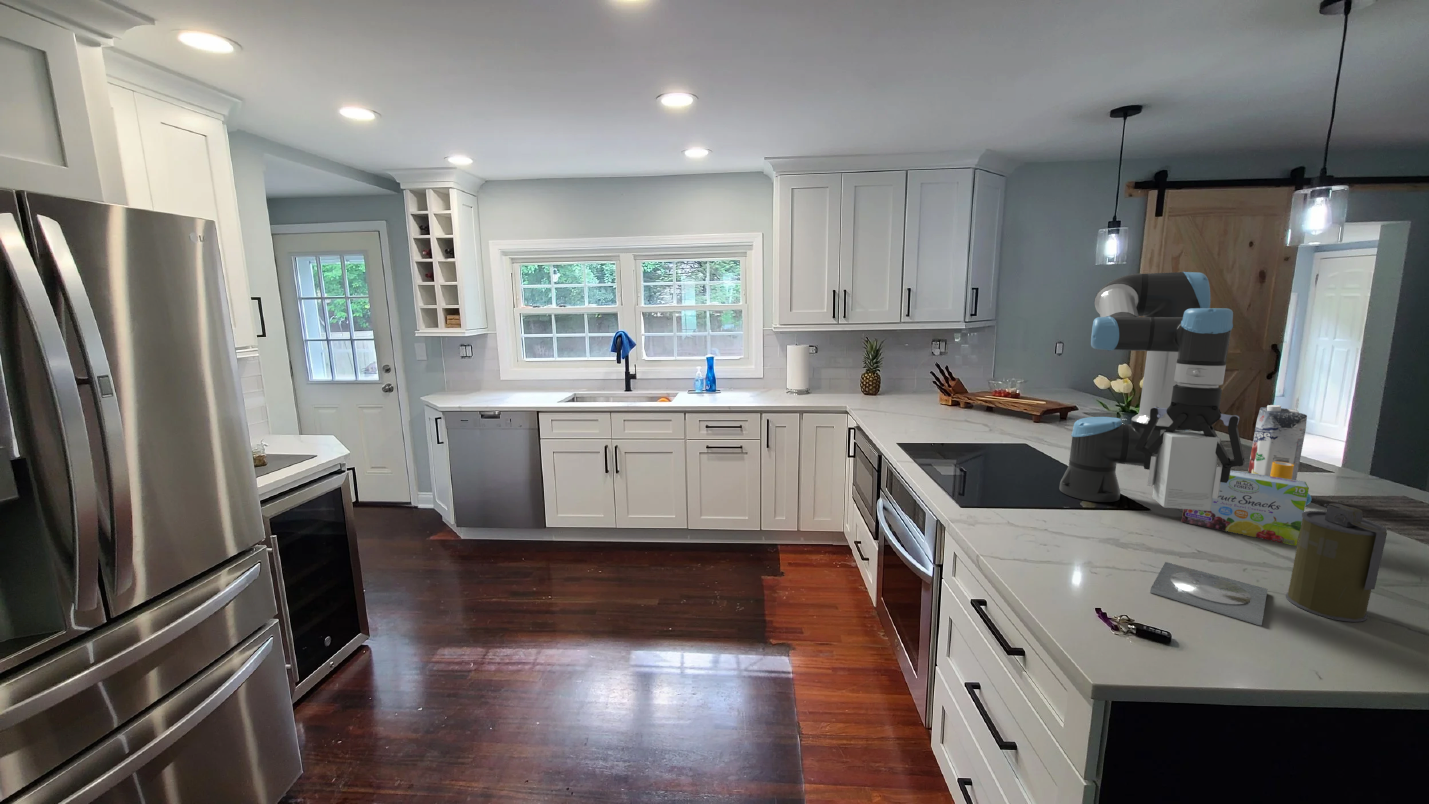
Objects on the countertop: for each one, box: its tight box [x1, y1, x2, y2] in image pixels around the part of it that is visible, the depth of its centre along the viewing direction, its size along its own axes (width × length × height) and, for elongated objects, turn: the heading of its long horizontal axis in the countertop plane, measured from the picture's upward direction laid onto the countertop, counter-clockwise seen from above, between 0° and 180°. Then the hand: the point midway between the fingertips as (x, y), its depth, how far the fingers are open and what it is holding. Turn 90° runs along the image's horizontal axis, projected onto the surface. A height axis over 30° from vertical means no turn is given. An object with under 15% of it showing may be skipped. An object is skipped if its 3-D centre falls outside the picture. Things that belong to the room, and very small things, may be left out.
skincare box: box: [1152, 430, 1222, 511], centre depth 114 cm, size 8×7×16 cm
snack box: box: [1180, 468, 1310, 547], centre depth 137 cm, size 21×6×15 cm, turn 47°
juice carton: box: [1247, 404, 1308, 480], centre depth 160 cm, size 9×10×27 cm
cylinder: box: [1270, 461, 1312, 506], centre depth 145 cm, size 12×10×15 cm
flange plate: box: [1150, 561, 1268, 627], centre depth 110 cm, size 16×16×1 cm
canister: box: [1285, 503, 1388, 623], centre depth 102 cm, size 11×10×20 cm
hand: (1182, 490), depth 115 cm, fingers closed on skincare box, 10 cm apart
